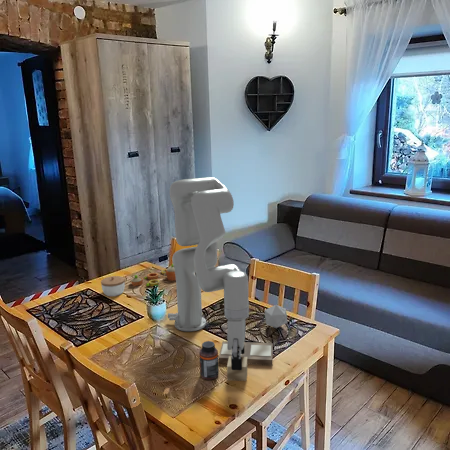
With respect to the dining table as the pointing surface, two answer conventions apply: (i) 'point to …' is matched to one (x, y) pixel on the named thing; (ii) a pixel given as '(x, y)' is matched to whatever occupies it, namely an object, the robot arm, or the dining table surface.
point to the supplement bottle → (209, 361)
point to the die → (276, 316)
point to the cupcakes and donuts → (155, 277)
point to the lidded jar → (113, 285)
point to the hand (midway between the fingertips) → (238, 361)
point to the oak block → (237, 371)
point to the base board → (250, 353)
